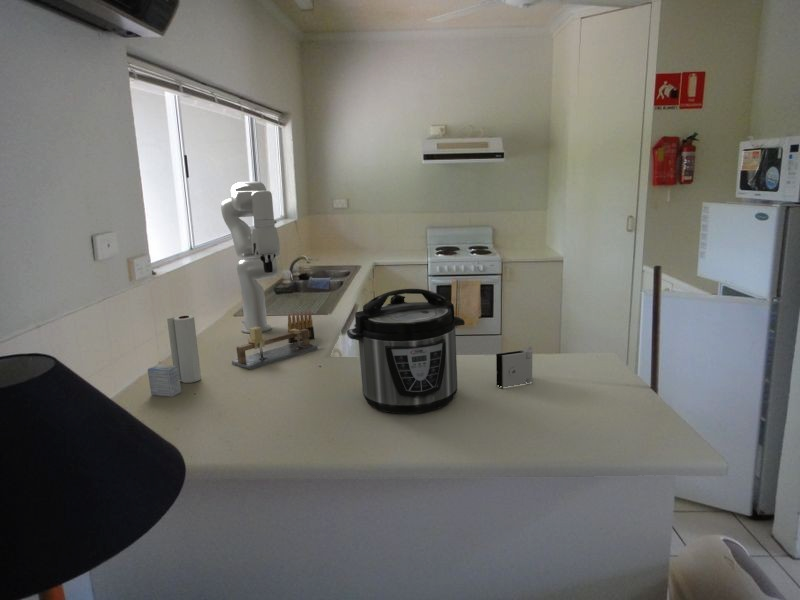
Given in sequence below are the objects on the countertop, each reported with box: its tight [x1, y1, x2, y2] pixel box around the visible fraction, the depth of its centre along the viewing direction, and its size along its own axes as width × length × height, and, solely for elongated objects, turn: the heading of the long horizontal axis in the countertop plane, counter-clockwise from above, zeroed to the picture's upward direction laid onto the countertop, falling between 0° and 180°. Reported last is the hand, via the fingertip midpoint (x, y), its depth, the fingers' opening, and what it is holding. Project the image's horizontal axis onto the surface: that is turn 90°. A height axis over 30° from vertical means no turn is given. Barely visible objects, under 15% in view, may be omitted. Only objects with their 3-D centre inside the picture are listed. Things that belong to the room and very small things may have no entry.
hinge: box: [495, 345, 533, 388], centre depth 170 cm, size 14×5×10 cm, turn 120°
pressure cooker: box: [346, 288, 466, 414], centre depth 159 cm, size 30×28×32 cm
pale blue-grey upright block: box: [147, 364, 182, 398], centre depth 175 cm, size 8×4×9 cm, turn 71°
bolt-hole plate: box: [231, 341, 319, 371], centre depth 210 cm, size 11×30×1 cm, turn 137°
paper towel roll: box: [166, 314, 202, 384], centre depth 185 cm, size 7×6×21 cm
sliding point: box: [247, 327, 266, 359], centre depth 203 cm, size 5×4×11 cm
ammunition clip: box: [287, 309, 316, 344], centre depth 229 cm, size 11×2×12 cm, turn 124°
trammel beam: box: [236, 329, 310, 364], centre depth 209 cm, size 4×30×7 cm, turn 138°
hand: (268, 272), depth 220 cm, fingers closed
